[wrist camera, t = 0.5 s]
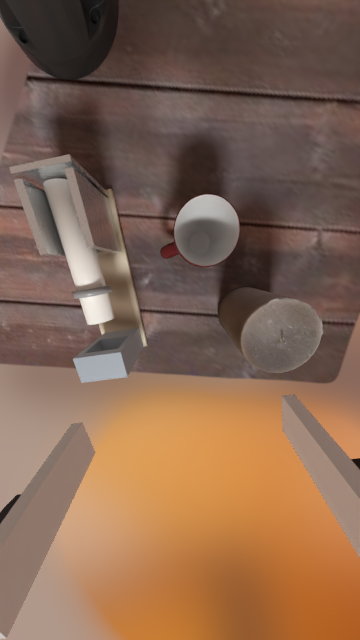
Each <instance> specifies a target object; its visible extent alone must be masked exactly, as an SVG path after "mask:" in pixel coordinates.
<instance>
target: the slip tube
mask: <svg viewBox="0 0 360 640" xmlns="http://www.w3.org/2000/svg"><path fill="white" fill-rule="evenodd" d="M43 186H44V189H45V192H46V195H47V198H48V202H49V205H50V208H51V211H52V214H53V217H54V220H55V224H56V227H57V230H58V233H59V236H60V239H61V242H62V246H63V249H64V252H65V255H66V258H67V261H68V264H69V268H70V271H71V274H72V277H73V280H74V283H75V286H76V290H77V291H73V292H72V293H73V296H74V299H80V302H81V305H82V308H83V312H84V315H85V318H86V321H87V324H88V325H93V324H99V323H103V322H107V321H110V320H112V319H114V318H115V317H114V313H113V309H112V306H111V302H110V298H109V294H108V293H110V292H112V290H111V286H110V285H107V286H106V283H105V280H104V276H103V272H102V269H101V265H100V261H99V257H98V254H97V250H96V249H94V248H89V247H86V244H85V240H84V237H83V233H82V230H81V226H80V223H79V219H78V216H77V212H76V209H75V205H74V201H73V198H72V194H71V191H70V187H69V184H68V180H67V179H60V178H55V179H49V180H47V181H45V182H44V183H43Z"/></svg>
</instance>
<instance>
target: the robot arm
mask: <svg viewBox="0 0 360 640" xmlns="http://www.w3.org/2000/svg"><path fill="white" fill-rule="evenodd" d="M0 18H1V20H2V21H3V23H4V25H5V26H6V28H7V29H8V31H9V32H10V34H11V35H12V37H13V38H14V39H15V41H16V42H17V43H18V45H19V46H20V47H21V49H22V50H23V52H24V53H25V54H26V55H27V57H28V58H29V59H30V60H31V61H32V62H33V63H34V64H35V65H36V66H37V67H39V68H40V69H41V70H43V71H44V72H46V73H47V74H49V75H52V76H54V77H57V78H61V79H78V78H82V77H84V76H86V75H88V74H90V73H91V72H93V71H94V70H95V69H96V68H97V67H98V66H99V65H100V64H101V63H102V62H103V60H104V59H105V57H106V56H107V54H108V52H109V50H110V48H111V46H112V43H113V40H114V37H115V33H116V28H117V21H118V0H0ZM282 421H283V422H282V423H283V432H284V433H285V435H286V436H287V438H288V440H289V442H290V443H291V445H292V446H293V448H294V450H295V451H296V453H297V455H298V456H299V458H300V460H301V461H302V463H303V465H304V466H305V468H306V470H307V471H308V473H309V474H310V476H311V478H312V480H313V481H314V483H315V484H316V486H317V488H318V489H319V491H320V493H321V495H322V496H323V498H324V499H325V501H326V503H327V505H328V506H329V508H330V510H331V511H332V513H333V514H334V516H335V517H336V519H337V521H338V523H339V524H340V526H341V528H342V529H343V531H344V533H345V534H346V536H347V538H348V539H349V541H350V543H351V544H352V546H353V548H354V549H355V551H356V553H357V554H358V556H359V558H360V458H359V459H350V458H349V457H348V456H347V454H346V453H345V452H344V451H343V450H342V449H341V447H340V446H339V445H338V444H337V443H336V442H335V441H334V440H333V438H332V437H331V436H330V435H329V434H328V433H327V431H326V430H325V429H324V428H323V427H322V426H321V424H320V423H319V422H318V421H317V420H316V419H315V417H314V416H313V415H312V414H311V413H310V412H309V410H308V409H307V408H306V407H305V406H304V405H303V404H302V402H301V401H300V400H299V399H298V398H297V397H296V395H294V394H293V395H285V396H282ZM94 454H95V451H94V448H93V446H92V444H91V441H90V439H89V437H88V434H87V432H86V430H85V427H84V425H83V423H75V424H71V426H70V427H69V429H68V430H67V431H66V433H65V434H64V436H63V437H62V438H61V440H60V441H59V443H58V444H57V445H56V447H55V448H54V450H53V451H52V452H51V454H50V455H49V457H48V458H47V459H46V461H45V462H44V464H43V465H42V466H41V468H40V469H39V471H38V472H37V474H36V475H35V476H34V478H33V479H32V480H31V482H30V483H29V485H28V486H27V487H26V489H25V490H24V492H23V493H22V494H21V495H16V496H15V497H14V499H13V500H11V501H10V502H9V504H7V505H6V507H4V509H3V510H2V511H1V512H0V639H3V638H7V636H8V634H9V632H10V630H11V628H12V626H13V624H14V622H15V619H16V617H17V615H18V613H19V611H20V609H21V607H22V605H23V603H24V601H25V599H26V597H27V594H28V592H29V590H30V588H31V586H32V584H33V582H34V580H35V578H36V575H37V574H38V571H39V569H40V567H41V565H42V563H43V561H44V559H45V557H46V555H47V552H48V550H49V548H50V546H51V544H52V542H53V540H54V538H55V536H56V533H57V532H58V530H59V527H60V525H61V523H62V521H63V519H64V517H65V515H66V513H67V511H68V509H69V507H70V504H71V502H72V500H73V498H74V496H75V493H76V492H77V490H78V488H79V485H80V483H81V481H82V479H83V477H84V475H85V473H86V471H87V469H88V467H89V465H90V463H91V460H92V458H93V456H94Z"/></svg>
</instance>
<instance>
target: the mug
mask: <svg viewBox="0 0 360 640" xmlns="http://www.w3.org/2000/svg"><path fill="white" fill-rule="evenodd" d="M173 232H174V242H173V243H170V244H168V245H166V246H164V247H163V248H161V250H160V253H161V256H162V257H163V258H164V259H166V258H170V257H173V256H176V255H178V254H180V255H181V257H182V258H183V259H184V260H185V261H187V262H188V263H190V264H192V265H194V266H198V267H210V266H214V265H217V264H219V263H221V262H223V261H224V260H225V259H227V258H228V257H229V256H230V254H231V253H232V252H233V251H234V249H235V247H236V245H237V243H238V239H239V235H240V222H239V218H238V215H237V212H236V210H235V209H234V207H233V206H232V205H231V203H230V202H229V201H227V200H226V199H225V198H223V197H221V196H218V195H215V194H202V195H198V196H196V197H194V198H192V199H190V200H189V201H188V202H186V203H185V204H184V205H183V207H182V208H181V209H180V211H179V213H178V215H177V217H176V220H175V223H174V231H173Z"/></svg>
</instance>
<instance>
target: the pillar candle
mask: <svg viewBox="0 0 360 640" xmlns="http://www.w3.org/2000/svg"><path fill="white" fill-rule="evenodd" d="M218 318H219V321H220V324H221V325H222V327H223V328H224V329H225V330H226V332H227V333H228V335H229V336H230V338H231V339H232V341H233V342H234V343H235V345H236V346H237V348H238V349H239V350H240V352H241V353H242V354H243V356H244V357H245V358H246V359H247V360H248V362H249V363H250V364H252V365H253V366H254V367H256V368H258V369H260V370H263V371H266V372H273V373H282V372H287V371H290V370H293V369H295V368H297V367H299V366H300V365H302V364H303V363H305V362H306V361H307V360H308V359H309V358H310V357H311V356H312V355H313V354H314V352H315V350H316V349H317V347H318V345H319V342H320V339H321V335H322V333H323V329H322V321H321V320H320V317H319V316H318V315H317V313H316V311H315V309H314V308H312V307H311V306H310V305H309V304H308V303H305V302H303V301H301V300H299V299H294V298H290V297H285V296H282V295H278V294H274V293H270V292H267V291H263V290H259V289H255V288H251V287H241V288H237V289H234V290H232V291H231V292H229V293H228V294H227V295H226V296H225V297H224V298H223V300H222V301H221V303H220V306H219V310H218Z"/></svg>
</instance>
